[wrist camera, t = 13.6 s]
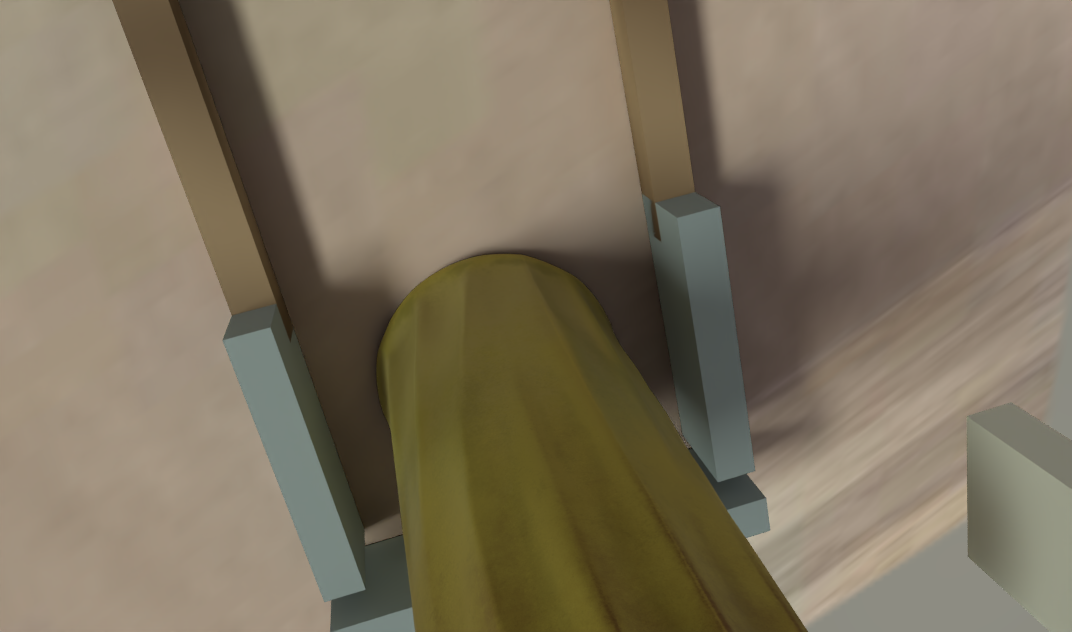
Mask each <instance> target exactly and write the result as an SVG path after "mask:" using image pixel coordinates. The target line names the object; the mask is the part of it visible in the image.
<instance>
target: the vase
mask: <svg viewBox="0 0 1072 632" xmlns="http://www.w3.org/2000/svg"><path fill="white" fill-rule="evenodd" d="M376 378H377V389H378V395H379V400H380V404H381V407H382V410H383V414H384V416H385V418H386V420H387V422H388V424H389V427H390V431H391V437H392V446H393V455H394V464H395V472H396V480H397V488H398V496H399V505H400V514H401V522H402V530H403V538H404V545H405V553H406V560H407V568H408V577H409V585H410V593H411V602H412V610H413V618H414V627H415V632H808V631H807V629H806V628H805V627H804V625H803V624H802V622H801V620H800V619H799V617H798V616H797V614H796V613H795V611H794V610H793V608H792V607H791V605H790V604H789V602H788V601H787V599H786V598H785V596H784V595H783V593H782V592H781V590H780V589H779V587H778V586H777V584H776V583H775V581H774V580H773V578H772V577H771V575H770V574H769V572H768V571H767V569H766V567H765V566H764V564H763V563H762V561H761V560H760V558H759V557H758V555H757V554H756V552H755V551H754V549H753V548H752V546H751V545H750V543H749V542H748V540H747V539H746V538H745V536H744V535H743V533H742V532H741V530H740V529H739V527H738V526H737V524H736V523H735V521H734V520H733V519H732V517H731V516H730V514H729V513H728V511H727V509H726V508H725V506H724V505H723V503H722V501H721V500H720V498H719V496H718V495H717V493H716V492H715V490H714V488H713V487H712V485H711V483H710V482H709V480H708V479H707V477H706V475H705V474H704V472H703V471H702V469H701V468H700V466H699V465H698V463H697V462H696V461H695V459H694V458H693V457H692V455H691V453H690V452H689V450H688V449H687V447H686V445H685V444H684V442H683V440H682V439H681V437H680V435H679V434H678V432H677V430H676V428H675V427H674V425H673V423H672V421H671V420H670V418H669V416H668V415H667V413H666V412H665V410H664V409H663V407H662V406H661V404H660V403H659V401H658V400H657V399H656V397H655V396H654V394H653V393H652V392H651V390H650V389H649V387H648V386H647V384H646V382H645V381H644V379H643V377H642V376H641V374H640V372H639V371H638V369H637V368H636V366H635V365H634V363H633V362H632V361H631V359H630V358H629V357H628V355H627V354H626V353H625V351H624V350H623V349H622V347H621V346H620V344H619V342H618V340H617V339H616V337H615V335H614V332H613V330H612V326H611V323H610V321H609V319H608V318H607V316H606V314H605V312H604V310H603V308H602V307H601V305H600V304H599V302H598V301H597V299H596V298H595V297H594V295H593V294H592V293H591V292H590V291H589V289H588V288H587V287H586V286H585V285H584V284H583V283H582V282H581V281H579V280H578V279H577V278H576V277H575V276H573V275H572V274H570V273H568V272H566V271H564V270H563V269H561V268H558V267H556V266H553V265H551V264H549V263H546V262H544V261H541V260H538V259H536V258H533V257H529V256H526V255H521V254H489V255H481V256H476V257H471V258H468V259H465V260H461V261H459V262H456V263H453V264H451V265H449V266H447V267H445V268H443V269H441V270H439V271H438V272H436V273H434V274H433V275H431V276H430V277H428V278H427V279H425V280H424V281H422V282H421V283H420V284H419V285H418V286H416V287H415V288H414V289H413V290H412V291H411V292H410V293H409V294H408V295H407V297H406V298H405V299H404V300H403V302H402V303H401V304H400V306H399V307H398V308H397V310H396V312H395V313H394V315H393V317H392V318H391V320H390V322H389V324H388V327H387V329H386V331H385V333H384V336H383V338H382V341H381V343H380V347H379V350H378V355H377V363H376Z"/></svg>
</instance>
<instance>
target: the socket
mask: <svg viewBox="0 0 1072 632" xmlns="http://www.w3.org/2000/svg"><path fill="white" fill-rule="evenodd" d="M642 197H643V202H644V208H645V214H646V220H647V226H648V232H649V238H650V244H651V250H652V256H653V262H654V267H655V273H656V279H657V285H658V291H659V297H660V303H661V309H662V315H663V321H664V327H665V333H666V338H667V344H668V350H669V356H670V362H671V368H672V374H673V380H674V386H675V392H676V398H677V404H678V409H679V415H680V421H681V427H682V433H683V436H684V437H685V439H686V440H687V441H688V443H689V444H690V446H691V447H692V449H689V452H690V453H691V455H692V457H693V458H694V459H695V461H696V462H697V463H698V465H699V466H700V468H701V469H702V471H703V472H704V474H705V475H706V477H707V479H708V480H709V482H710V483H711V485H712V487H713V488H714V490H715V492H716V493H717V495H718V496H719V498H720V500H721V501H722V503H723V505H724V506H725V508H726V509H727V511H728V513H729V514H730V516H731V517H732V519H733V520H734V521H735V523H736V524H737V526H738V527H739V529H740V530H741V532H742V533H743V535H744V536H745V538H748V537H751V536H754V535H757V534H761V533H764V532H767V531H770V524H769V517H768V509H767V501H766V497H765V496H764V495H763V494H762V492H761V491H760V490H759V489H758V487H757V486H756V485H755V484H754V483H753V481H752V480H751V479H750V478H749V476H748V475H747V473H750V472H753V471H755V466H754V458H753V451H752V443H751V436H750V428H749V421H748V413H747V406H746V398H745V391H744V383H743V376H742V369H741V361H740V354H739V346H738V339H737V331H736V324H735V316H734V309H733V301H732V294H731V286H730V279H729V271H728V264H727V257H726V249H725V242H724V234H723V227H722V219H721V212H720V206H718V205H716V204H715V203H713V202H711V201H709V200H708V199H706V198H704V197H703V196H701V195H699V194H697V193H696V192H694V193H690V194H686V195H682V196H679V197H675V198H671V199H667V200H664V201H660V202H656V203H655V205H656V211H657V217H658V224H659V230H660V236H661V242H660V241H659V240H658V239H657V238H655V237H656V236H655V237H654V236H653V235H654V234H655V232H654V233H653V230H654V229H653V227H652V226H653V222H652V216H651V214H652V213H651V209H652V208H651V206H650V205H651V203H652V201H650V199H649V198H647V197H646V196H645V195H643V194H642ZM651 222H652V224H651ZM654 231H655V230H654ZM223 343H224V345H225V348H226V350H227V353H228V355H229V358H230V361H231V363H232V366H233V368H234V371H235V373H236V376H237V379H238V381H239V384H240V386H241V389H242V391H243V394H244V397H245V399H246V402H247V404H248V407H249V409H250V412H251V415H252V417H253V420H254V422H255V425H256V427H257V430H258V433H259V435H260V438H261V440H262V443H263V445H264V448H265V450H266V453H267V456H268V458H269V461H270V463H271V466H272V468H273V471H274V474H275V476H276V479H277V481H278V484H279V486H280V489H281V492H282V494H283V497H284V499H285V502H286V504H287V507H288V510H289V512H290V515H291V517H292V520H293V522H294V525H295V528H296V530H297V533H298V535H299V538H300V540H301V543H302V546H303V548H304V551H305V553H306V556H307V558H308V561H309V564H310V566H311V569H312V571H313V574H314V576H315V579H316V582H317V584H318V587H319V589H320V592H321V594H322V597H323V600H324V602H327V601H330V600H331V626H330V632H415V627H414V618H413V610H412V602H411V593H410V585H409V577H408V568H407V560H406V553H405V545H404V538H403V535H401V536H398V537H395V538H391V539H388V540H385V541H381V542H378V543H375V544H371V545H368V546H365V533H364V527H363V524H362V522H361V519H360V516H359V513H358V510H357V507H356V505H355V502H354V499H353V496H352V493H351V490H350V488H349V485H348V482H347V479H346V476H345V473H344V470H343V468H342V465H341V462H340V459H339V456H338V453H337V451H336V448H335V445H334V442H333V439H332V436H331V434H330V431H329V428H328V425H327V422H326V419H325V416H324V414H323V411H322V408H321V405H320V402H319V399H318V397H317V394H316V391H315V388H314V385H313V382H312V380H311V377H310V374H309V371H308V368H307V365H306V362H305V360H304V357H303V354H302V351H301V348H300V345H299V343H298V340H297V337H296V334H295V331H294V328H293V332H292V338H291V343H290V341H289V338H288V335H287V332H286V329H285V327H284V324H283V321H282V318H281V315H280V313H279V310H278V307H277V304H273V305H270V306H266V307H262V308H258V309H255V310H251V311H247V312H243V313H240V314H236V315H232V317H231V320H230V322H229V325H228V327H227V330H226V333H225V335H224V338H223Z"/></svg>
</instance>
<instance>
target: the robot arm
mask: <svg viewBox="0 0 1072 632" xmlns="http://www.w3.org/2000/svg"><path fill="white" fill-rule="evenodd" d="M967 513H968V557H969V558H970V559H971V560H972V561H973V562H974V563H976V564H977V565H978V566H979V567H980V568H981V569H982V570H983V571H984V572H985V573H986V574H988V575H989V576H990V577H991V578H992V579H993V580H994V581H995V582H996V583H997V584H998V585H999V586H1001V587H1002V588H1003V589H1004V590H1005V591H1006V592H1007V593H1008V594H1009V595H1010V596H1011V597H1013V598H1014V599H1015V600H1016V601H1017V602H1018V603H1019V604H1020V605H1021V606H1022V607H1023V608H1024V609H1026V610H1027V611H1028V612H1029V613H1030V614H1031V615H1032V616H1033V617H1034V618H1035V619H1037V620H1038V621H1039V622H1040V623H1041V624H1042V625H1043V626H1044V627H1045V628H1046V629H1047V630H1049V631H1050V632H1072V440H1070V439H1069V438H1067V437H1065V436H1064V435H1062V434H1061V433H1059V432H1057V431H1056V430H1054V429H1053V428H1051V427H1049V426H1048V425H1046V424H1045V423H1043V422H1041V421H1040V420H1038V419H1037V418H1035V417H1034V416H1032V415H1030V414H1029V413H1027V412H1026V411H1024V410H1022V409H1021V408H1019V407H1018V406H1016V405H1014V404H1013V403H1008V404H1004V405H1001V406H998V407H995V408H992V409H988V410H985V411H982V412H979V413H976V414H973V415H969V416H967Z"/></svg>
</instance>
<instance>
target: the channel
mask: <svg viewBox="0 0 1072 632" xmlns="http://www.w3.org/2000/svg"><path fill="white" fill-rule="evenodd" d="M112 1H113V4H114V6H115V9H116V11H117V14H118V17H119V19H120V22H121V25H122V27H123V30H124V32H125V35H126V38H127V40H128V43H129V46H130V48H131V51H132V54H133V56H134V59H135V61H136V64H137V67H138V69H139V72H140V75H141V77H142V80H143V82H144V85H145V88H146V90H147V93H148V96H149V98H150V101H151V104H152V106H153V109H154V111H155V114H156V117H157V119H158V122H159V125H160V127H161V130H162V133H163V135H164V138H165V140H166V143H167V146H168V148H169V151H170V154H171V156H172V159H173V161H174V164H175V167H176V169H177V172H178V175H179V177H180V180H181V183H182V185H183V188H184V190H185V193H186V196H187V198H188V201H189V204H190V206H191V209H192V211H193V214H194V217H195V219H196V222H197V225H198V227H199V230H200V233H201V235H202V238H203V240H204V243H205V246H206V248H207V251H208V254H209V256H210V259H211V262H212V264H213V267H214V269H215V272H216V275H217V277H218V280H219V283H220V285H221V288H222V290H223V293H224V296H225V298H226V301H227V304H228V306H229V309H230V312H231V314H232V315H236V314H240V313H243V312H247V311H251V310H255V309H258V308H262V307H266V306H270V305H273V304H277V307H278V310H279V313H280V315H281V318H282V321H283V324H284V327H285V329H286V332H287V335H288V338H289V341H290V343H291V338H292V332H293V326H292V323H291V320H290V317H289V314H288V311H287V309H286V306H285V303H284V300H283V297H282V294H281V291H280V289H279V286H278V283H277V280H276V277H275V274H274V272H273V269H272V266H271V263H270V260H269V257H268V255H267V252H266V249H265V246H264V243H263V240H262V237H261V235H260V232H259V229H258V226H257V223H256V220H255V218H254V215H253V212H252V209H251V206H250V203H249V201H248V198H247V195H246V192H245V189H244V186H243V183H242V181H241V178H240V175H239V172H238V169H237V166H236V164H235V161H234V158H233V155H232V152H231V149H230V147H229V144H228V141H227V138H226V135H225V132H224V130H223V127H222V124H221V121H220V118H219V115H218V112H217V110H216V107H215V104H214V101H213V98H212V95H211V93H210V90H209V87H208V84H207V81H206V78H205V76H204V73H203V70H202V67H201V64H200V61H199V58H198V56H197V53H196V50H195V47H194V44H193V41H192V39H191V36H190V33H189V30H188V27H187V24H186V22H185V19H184V16H183V13H182V10H181V7H180V4H179V2H178V0H112ZM609 1H610V7H611V13H612V19H613V25H614V31H615V37H616V43H617V49H618V55H619V60H620V66H621V72H622V78H623V84H624V90H625V96H626V102H627V108H628V114H629V120H630V126H631V131H632V137H633V143H634V149H635V155H636V161H637V167H638V173H639V179H640V185H641V191H642V194H643V195H645V196H646V197H647V198H649V199H650V201H652V203H651V205H650V206H651V208H652V209H651V213H652V214H651V216H652V222H653V226H652V227H653V229H654V230H655V231H654V230H653V233H654V232H655V234H654V235H653V236H654V237H655V236H656V237H655V238H657V239H658V240H659V241H660V242H661V236H660V230H659V224H658V217H657V211H656V205H655V203H656V202H660V201H664V200H667V199H671V198H675V197H679V196H682V195H686V194H690V193H694V192H695V188H694V181H693V175H692V168H691V161H690V154H689V147H688V140H687V133H686V126H685V119H684V112H683V105H682V98H681V91H680V85H679V78H678V71H677V64H676V57H675V50H674V43H673V36H672V29H671V22H670V15H669V8H668V1H667V0H609ZM652 222H651V224H652Z"/></svg>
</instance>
